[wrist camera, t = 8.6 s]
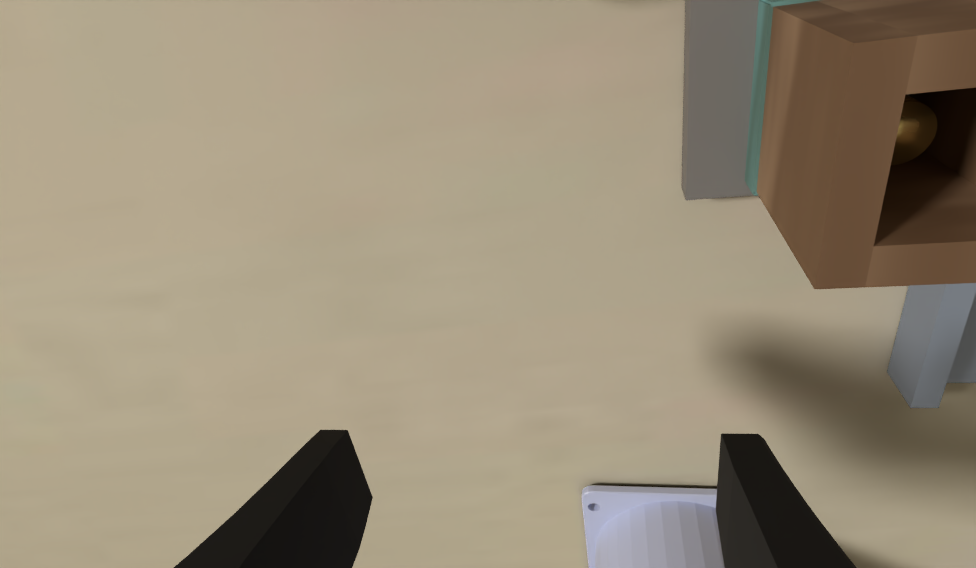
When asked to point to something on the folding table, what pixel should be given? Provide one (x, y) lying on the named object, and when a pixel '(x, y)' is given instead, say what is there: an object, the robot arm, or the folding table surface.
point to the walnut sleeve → (866, 138)
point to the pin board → (717, 96)
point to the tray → (934, 342)
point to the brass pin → (914, 131)
